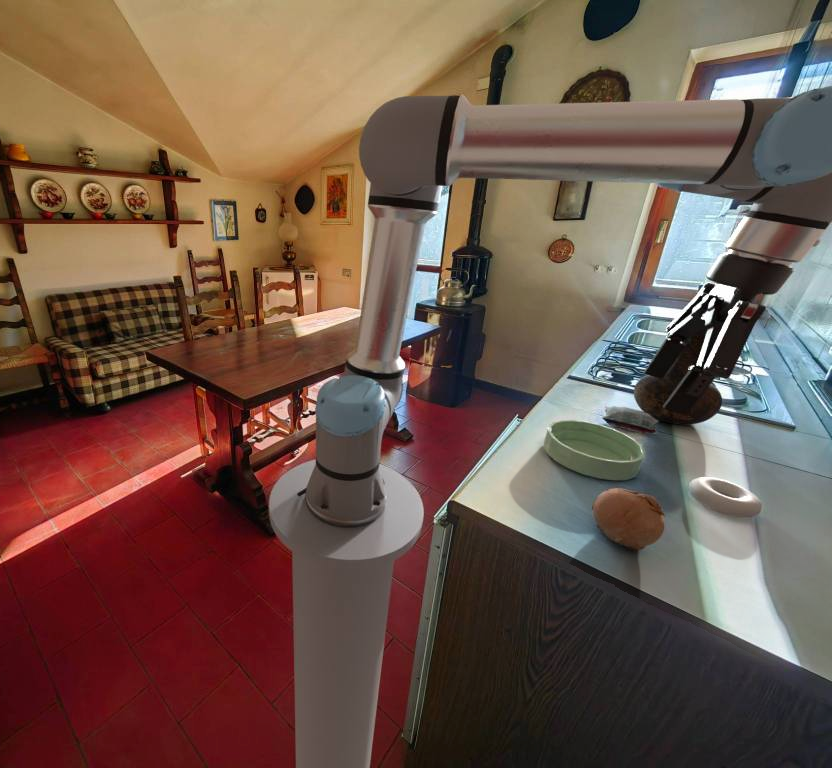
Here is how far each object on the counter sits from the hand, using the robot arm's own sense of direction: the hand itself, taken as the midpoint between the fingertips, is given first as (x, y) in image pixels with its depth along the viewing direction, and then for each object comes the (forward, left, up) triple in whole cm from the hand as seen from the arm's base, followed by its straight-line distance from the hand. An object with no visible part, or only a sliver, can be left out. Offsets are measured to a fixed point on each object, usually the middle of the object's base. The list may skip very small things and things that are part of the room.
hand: (662, 391), depth 62 cm
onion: (-4, -5, -25) cm, 26 cm away
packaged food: (+31, +31, -25) cm, 50 cm away
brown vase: (+47, +35, -25) cm, 63 cm away
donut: (+23, +1, -25) cm, 34 cm away
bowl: (+9, +18, -25) cm, 32 cm away
